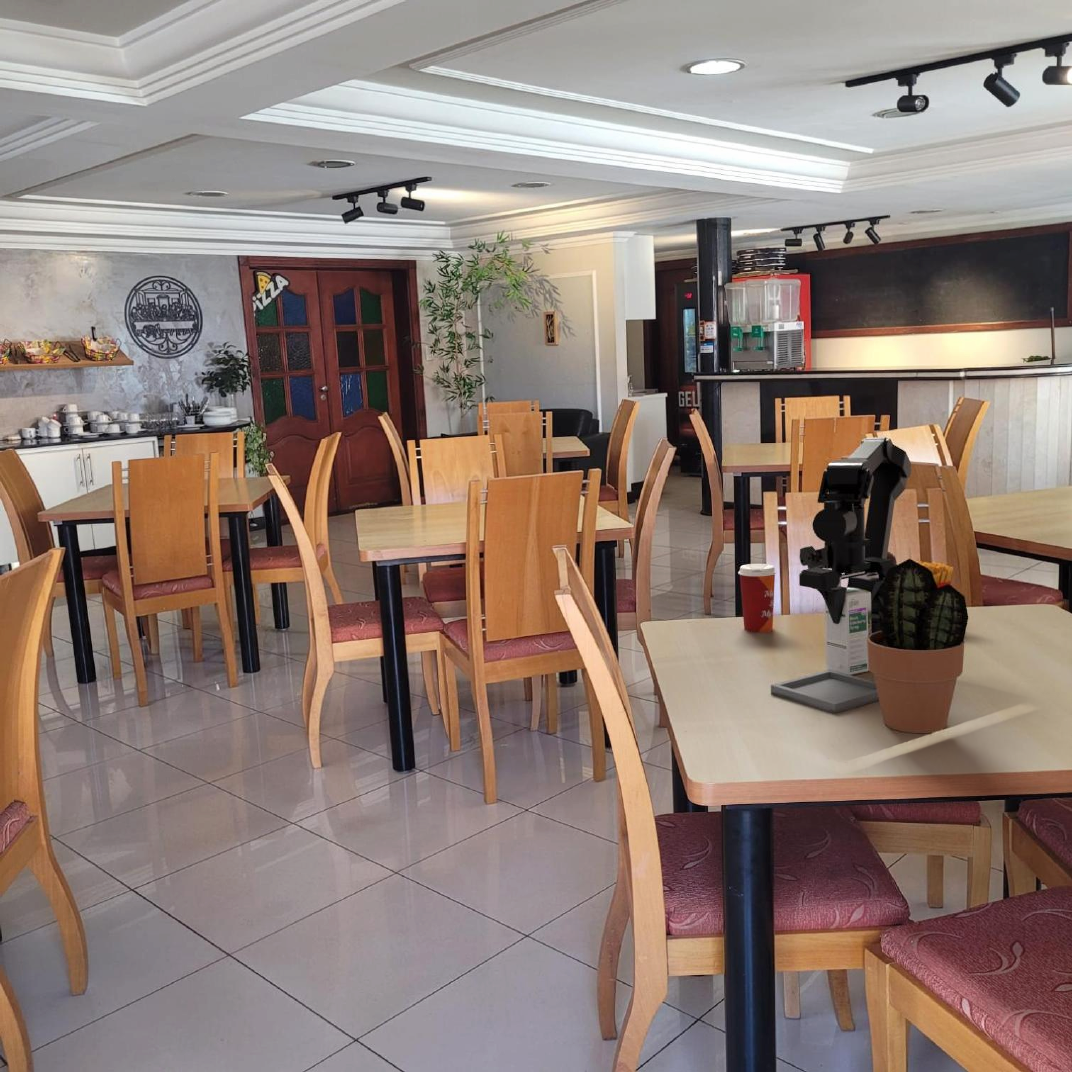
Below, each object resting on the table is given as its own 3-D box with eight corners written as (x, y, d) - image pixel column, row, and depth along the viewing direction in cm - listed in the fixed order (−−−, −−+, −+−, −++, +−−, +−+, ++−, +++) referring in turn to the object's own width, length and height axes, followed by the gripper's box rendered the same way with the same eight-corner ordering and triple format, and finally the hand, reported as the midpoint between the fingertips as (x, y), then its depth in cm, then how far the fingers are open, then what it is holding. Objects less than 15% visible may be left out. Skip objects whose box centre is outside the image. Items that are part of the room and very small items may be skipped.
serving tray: (829, 677, 184) (829, 669, 184) (894, 695, 173) (894, 686, 172) (770, 693, 177) (770, 684, 177) (835, 713, 165) (835, 704, 165)
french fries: (899, 622, 219) (904, 561, 216) (905, 618, 222) (910, 557, 220) (945, 630, 214) (951, 567, 211) (950, 625, 217) (956, 563, 215)
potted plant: (880, 740, 152) (880, 570, 149) (857, 711, 166) (856, 554, 162) (977, 737, 152) (979, 566, 148) (945, 708, 165) (946, 550, 162)
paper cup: (777, 637, 214) (776, 569, 212) (739, 637, 216) (737, 570, 214) (777, 628, 222) (776, 562, 220) (739, 628, 223) (738, 563, 221)
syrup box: (848, 676, 185) (848, 595, 182) (824, 669, 190) (824, 590, 188) (872, 671, 187) (872, 590, 185) (848, 664, 192) (848, 585, 190)
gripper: (848, 523, 197) (849, 605, 199) (775, 535, 187) (777, 621, 189) (897, 529, 187) (897, 615, 189) (823, 542, 177) (824, 632, 180)
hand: (848, 620), depth 187 cm, fingers closed on syrup box, 6 cm apart
